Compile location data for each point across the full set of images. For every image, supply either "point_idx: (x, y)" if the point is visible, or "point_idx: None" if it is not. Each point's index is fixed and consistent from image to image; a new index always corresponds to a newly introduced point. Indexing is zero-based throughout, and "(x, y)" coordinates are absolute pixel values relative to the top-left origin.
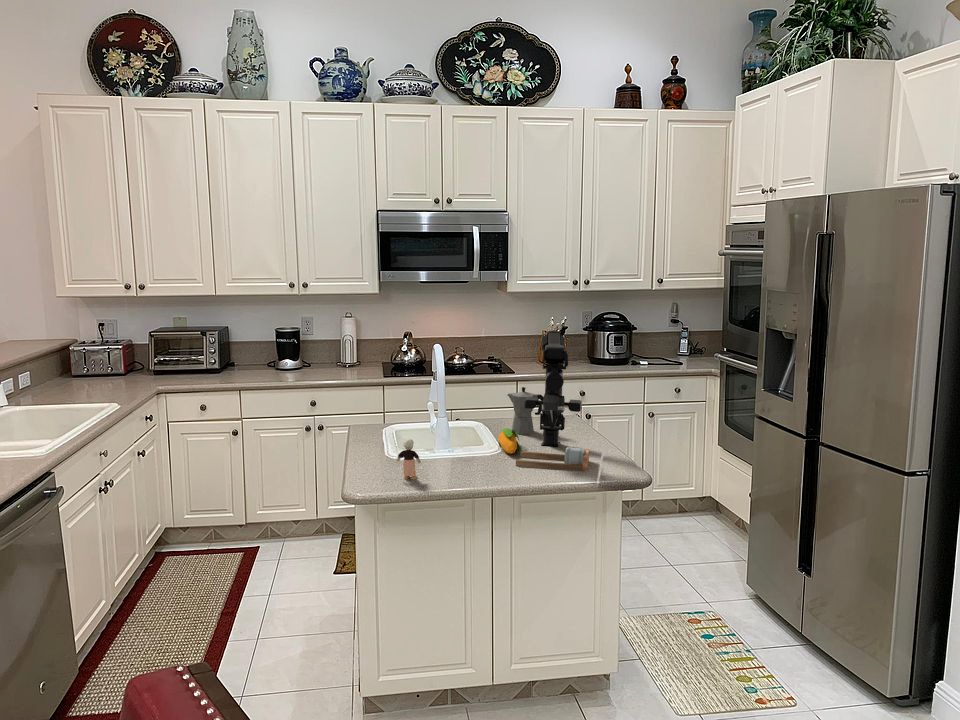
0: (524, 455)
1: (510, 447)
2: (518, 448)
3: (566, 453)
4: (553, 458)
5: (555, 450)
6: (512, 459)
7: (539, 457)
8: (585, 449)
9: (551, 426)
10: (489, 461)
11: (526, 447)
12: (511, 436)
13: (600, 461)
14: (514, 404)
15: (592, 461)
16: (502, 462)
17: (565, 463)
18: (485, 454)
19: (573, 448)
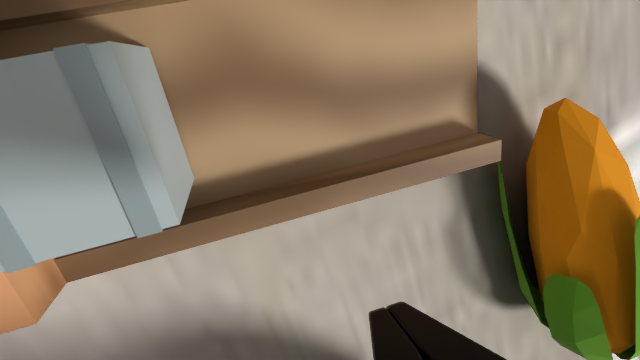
0: (466, 141)
1: (586, 116)
2: (512, 250)
3: (93, 45)
4: (291, 186)
5: (341, 355)
6: (508, 108)
7: (377, 163)
8: (23, 305)
9: (418, 326)
10: (615, 12)
11: (475, 320)
12: (618, 256)
13: (14, 332)
14: None
15: (63, 306)
16: (551, 25)
17: (108, 2)
18: (634, 127)
19: (98, 224)
